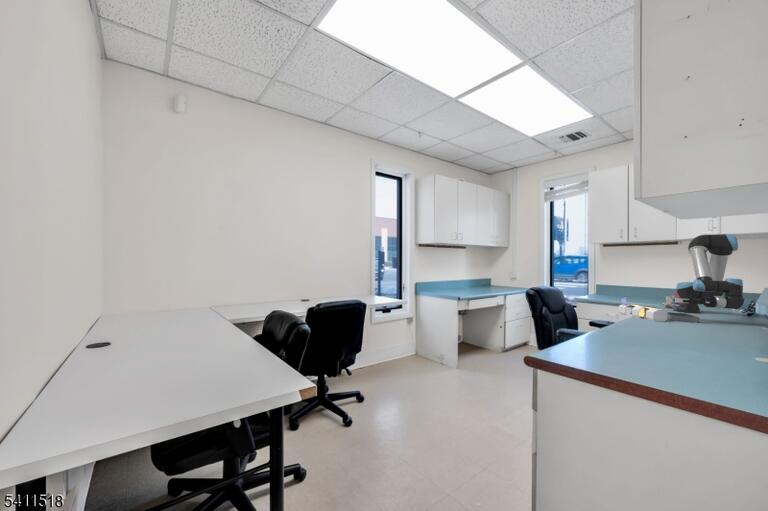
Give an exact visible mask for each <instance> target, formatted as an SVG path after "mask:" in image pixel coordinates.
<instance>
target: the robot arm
mask: <svg viewBox="0 0 768 511" xmlns="http://www.w3.org/2000/svg"><path fill="white" fill-rule="evenodd" d="M738 243H739V242H738V238H737V237H736V235H735V234H729V233H728V234H727V233H725V234H724V233H720V234H719V233H718V234H716V233H715V234H713V233H712V234H706V233H705V234H700V235H698V236H696V237H694V238H693V239H692V240H690V242H689V244H688V247H687V249H688V253H689V254H690V255H691V259H692V265H693V270H694V273H695V279H694V280H693V281H684V282H683V281H681V282H678V283H677V284H676V288H675V289H676V293H677V294H678V295H679V296H680V298H681V299H680V298H678V297H677V298H675V302H676V303H685V306H686V308H685V309H684V310H674V309H672V310H673V311H675V312H678V313H687V314H690V313H691V314H700V313H701V309H700V307H699V305H703V306H704V307H706V308H715V309H716V308H717V309H719V310H721V309H728V310H730V309H731V310H746V309H748V308H749V306H750V302H749V299H748V298H746V297H744V295H743V293H744V283H743V279H742V278H733V277H732V278H729V277H728V278H727V277H726V278H725V279H724V277H725V273H726V269H727V264H728V259H729V256H731V255H732V254H733V252H736V251H738V248H739V244H738ZM707 253H709V254H710V256H709V258H708V255H707ZM671 297H672V296H665V298H666V299H665V300H667V299H669V298H671Z"/></svg>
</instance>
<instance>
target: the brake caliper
mask: <svg viewBox="0 0 768 511" xmlns="http://www.w3.org/2000/svg"><path fill="white" fill-rule="evenodd" d="M670 297H671V298H669V299H667V300H666V299H665V300H666V301H665V302H662V303H661V305H662V309H670V310H673V309H674V310H684V309H685V308H686V306H685V303H676V302H675V298H677V297H678V298H680V296H679V295H678V294H677V292H674V293H673V295H671V296H670ZM680 299H681V298H680ZM663 306H664V307H663ZM674 310H673V311H674Z"/></svg>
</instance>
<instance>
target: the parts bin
mask: <svg viewBox="0 0 768 511" xmlns="http://www.w3.org/2000/svg"><path fill="white" fill-rule="evenodd" d="M666 312H667V313H668V315H667V319H668V321H670V322H671V321H672V322H681V321H683V323H694V322H697V323H696V324H699V323H700V317H699V316H697V315H692V314H690V313H687V312H673V311H671V312H669V311H666Z"/></svg>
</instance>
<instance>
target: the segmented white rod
mask: <svg viewBox="0 0 768 511" xmlns="http://www.w3.org/2000/svg"><path fill="white" fill-rule="evenodd" d="M620 300H621V301H620V304H619V306H618V313H619V314H620V315H623V316H627V313H626V311H627V307H631V310H630V312H629V314H630V315H631V316H632V317H633V316H635V317H634V318H636V317H637V319H641V317H643V318H646V320H647V321H650V320H651V322H667V315H668V313H667V312H668V311H665V310H664V309H663V308H662V309H661V308H660V309H659V308H656V307H650V306H643V305H637V304H631V303H627V302H628V299H627V297H626V296H624V297H623V298H621V299H620Z"/></svg>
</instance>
